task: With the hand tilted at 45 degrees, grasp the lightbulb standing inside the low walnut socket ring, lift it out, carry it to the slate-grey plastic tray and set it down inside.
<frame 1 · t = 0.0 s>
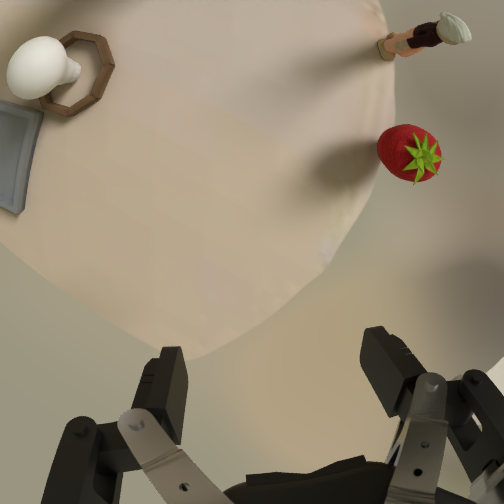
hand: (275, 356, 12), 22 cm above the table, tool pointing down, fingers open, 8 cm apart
tray: (4, 152, 25), on the table
socket ring: (75, 73, 23), on the table
lightbulb: (75, 73, 23), resting in socket ring
grandmother figurine: (393, 44, 24), on the table
decorative fruit: (385, 145, 30), on the table
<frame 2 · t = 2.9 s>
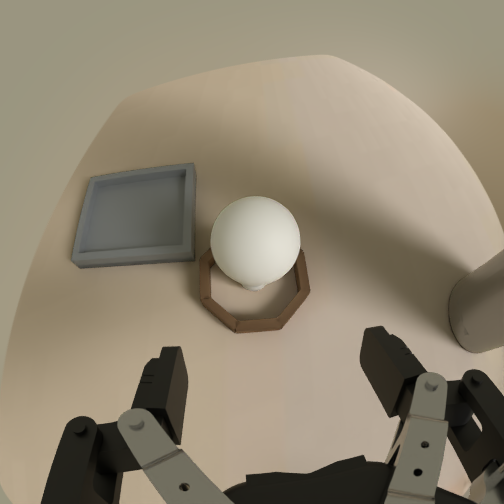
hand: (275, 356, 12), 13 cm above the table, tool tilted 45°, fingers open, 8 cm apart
tray: (137, 218, 30), on the table
socket ring: (253, 281, 27), on the table
lightbulb: (253, 281, 27), resting in socket ring
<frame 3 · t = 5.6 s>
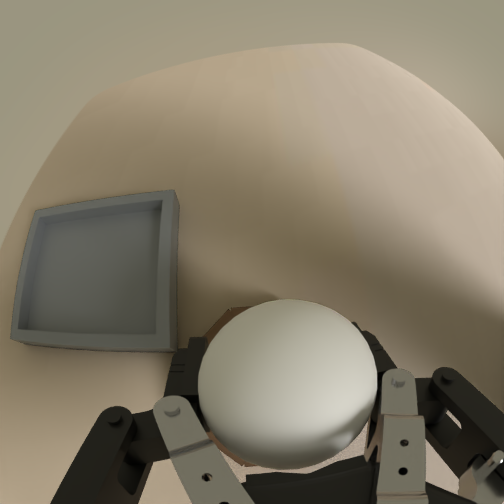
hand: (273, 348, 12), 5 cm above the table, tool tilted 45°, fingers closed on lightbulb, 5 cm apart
tray: (94, 276, 19), on the table
socket ring: (269, 386, 16), on the table
lightbulb: (269, 385, 17), resting in socket ring, touching gripper
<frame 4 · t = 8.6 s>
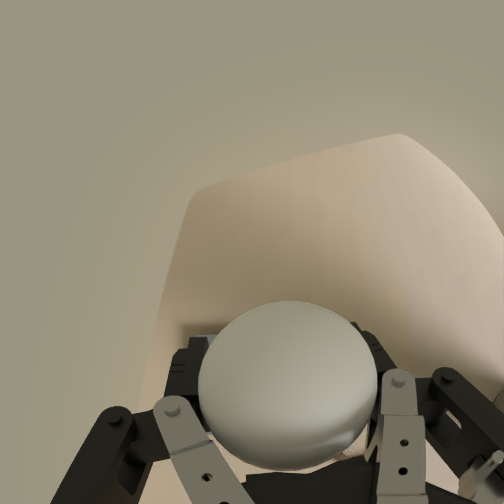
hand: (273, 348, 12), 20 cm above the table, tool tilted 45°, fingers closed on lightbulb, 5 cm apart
lightbulb: (269, 386, 17), point 15 cm above the table, touching gripper
when the fingers open (7 cm above the table, at t = 11.5 s): lightbulb drops 1 cm, resting on tray.
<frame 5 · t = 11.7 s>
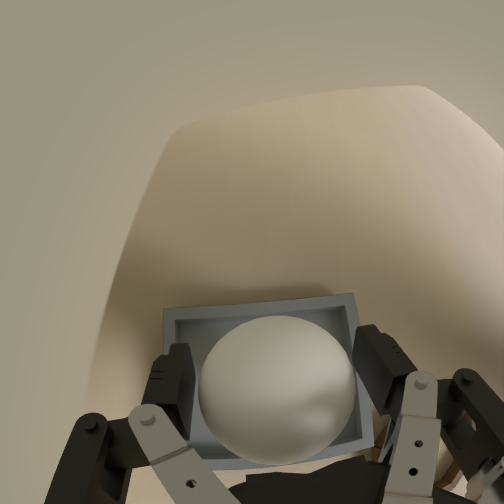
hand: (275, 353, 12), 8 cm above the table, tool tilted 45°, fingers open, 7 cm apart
tray: (266, 385, 18), on the table
socket ring: (426, 448, 15), on the table
lightbulb: (265, 388, 18), point 1 cm above the table, touching tray
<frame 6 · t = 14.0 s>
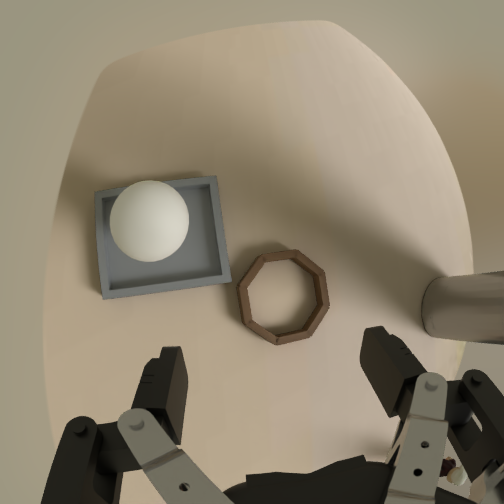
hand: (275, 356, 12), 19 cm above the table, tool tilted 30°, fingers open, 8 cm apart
tray: (160, 238, 29), on the table
socket ring: (282, 297, 31), on the table
lightbulb: (158, 239, 29), point 1 cm above the table, touching tray
grandmother figurine: (413, 452, 33), on the table
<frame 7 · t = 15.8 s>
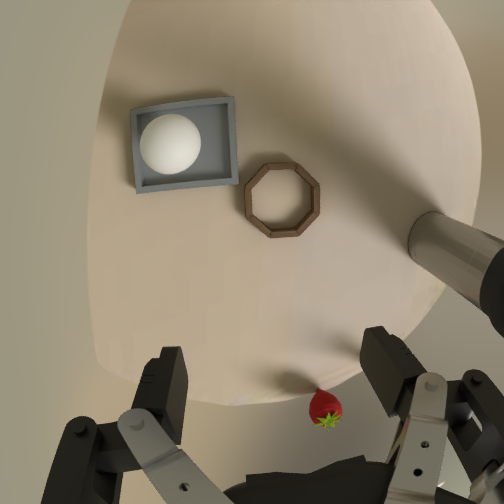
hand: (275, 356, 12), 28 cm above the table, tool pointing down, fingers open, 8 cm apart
tray: (185, 144, 35), on the table
socket ring: (281, 199, 38), on the table
lightbulb: (183, 146, 34), point 1 cm above the table, touching tray
decorative fruit: (318, 390, 50), on the table
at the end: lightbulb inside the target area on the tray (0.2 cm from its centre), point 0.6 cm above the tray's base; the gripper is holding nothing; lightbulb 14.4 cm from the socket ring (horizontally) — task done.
